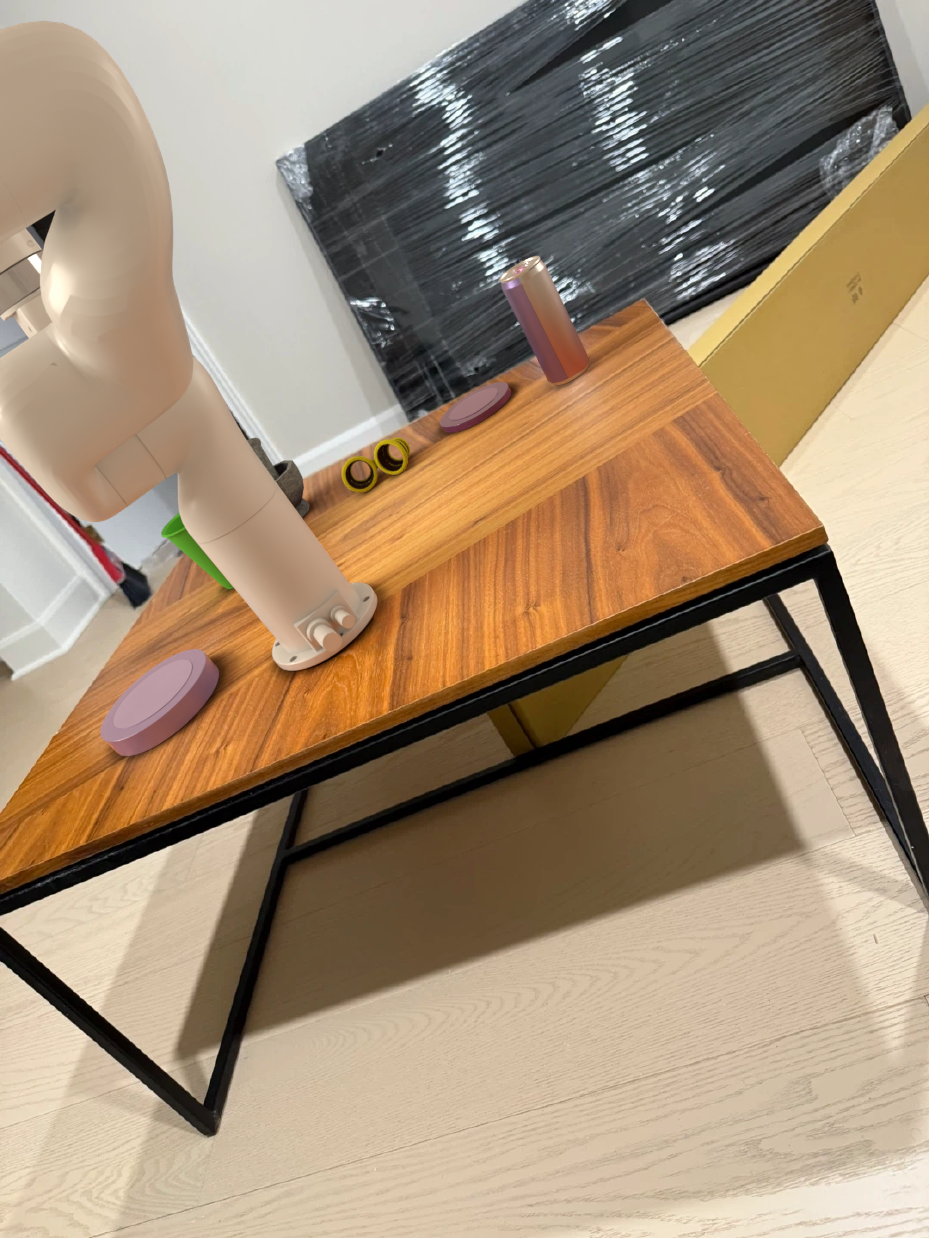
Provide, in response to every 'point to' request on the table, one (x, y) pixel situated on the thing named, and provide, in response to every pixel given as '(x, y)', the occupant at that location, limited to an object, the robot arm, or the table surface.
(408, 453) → the opera glasses
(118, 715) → the lavender dish
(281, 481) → the mortar and pestle
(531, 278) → the beverage can
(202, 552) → the cup
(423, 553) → the table surface
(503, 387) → the plum dish
